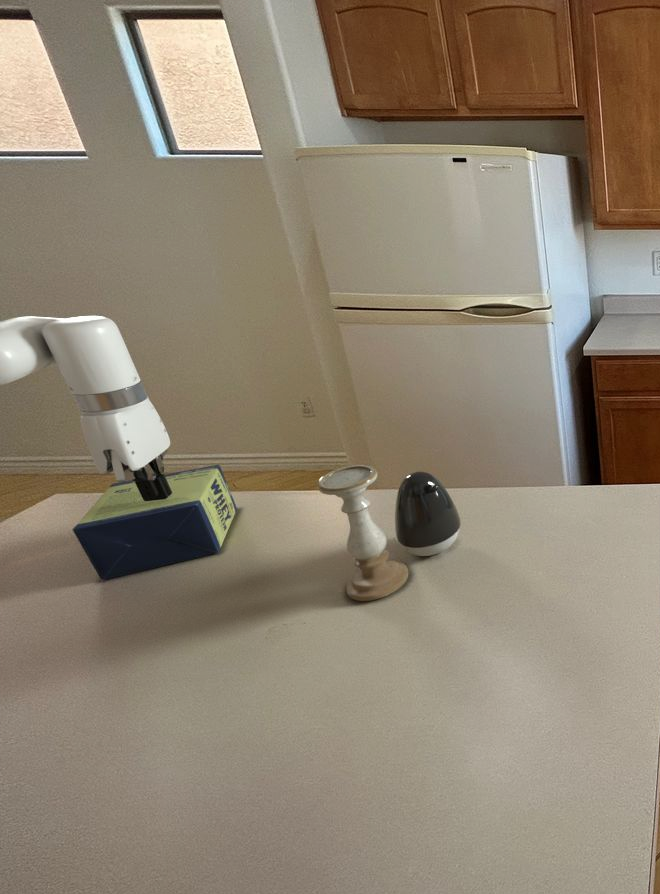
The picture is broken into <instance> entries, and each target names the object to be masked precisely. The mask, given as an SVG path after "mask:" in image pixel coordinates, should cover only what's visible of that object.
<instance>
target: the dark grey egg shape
mask: <svg viewBox="0 0 660 894" xmlns="http://www.w3.org/2000/svg"><path fill="white" fill-rule="evenodd" d="M394 528H395V529H394V530H395V536H396V540H397V542H398V543H399V544H400V545H401V546H402V547H403V548H404V549H405V550H406V551H407V552H409V553H410V554H412V555H414V556H419V557H428V556H429V557H430V556H434V555H437V554H440V553H442V552H444V551H446V550H447V549H449V548H450V547H451V546H452V545H453V544H454V543H455V541H456V539H457V538H458V535H459V532H460V529H461V517H460V514H459V512H458V509H457V506H456V504H455V502H454V501H453V499H452V497H451V496H450V494H449V492H448V491H447V489H446V488H445V486H444V485H443V484H442V482H441V481H440V480H439V479H438V478H437V477H435V476H434V475H433V474H432V473H430V472H428V471H425V470H424V471H422V470H419V471H413V472H411V473H409V474H408V475H406V476H405V477H404V478H403V479H402V481H401V483H400V485H399V488H398V489H397V494H396V499H395V507H394Z"/></svg>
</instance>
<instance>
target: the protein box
mask: <svg viewBox="0 0 660 894" xmlns="http://www.w3.org/2000/svg"><path fill="white" fill-rule="evenodd" d="M163 474H164V475H165V477H166V480H167V482H168V484H169V486H170V488H171V491H172V494H171V495H170V496H168V498H166V499H163V500H154V501H144V500H143V498H142V496H141V494H140V492H139V490H138V488H137V486H136V484H135V482H131V481H126V482H115V483H111V484H110V486H109V487H107V489H106V490H105V491H104V492H103V494H101V496H100V497H99V498H98V499H97V501H96V502H95V503H94V504H93V505H92V506H91V508H89V510H88V511H87V512H86V513H85V514H84V516H82V518H81V519H80V520H79V521H78V523H77V524H76V525H75V526H73V528H72V532H73V533H74V535H75V537H76V538H77V541H78V543H79V544H80V546H81V547H82V550H83V551H84V553H85V554H86V556H87V558H88V560H89V562H90V564H91V565H92V567H93V569H94V570H95V572H96V574H97V576H98V578H99V579H100V580H101V581H105V580H110V579H114V578H118V577H123V576H125V575H126V576H127V575H130V574H131V575H132V574H134V573H138V572H143V571H147V570H152V569H156V568H160V567H164V566H168V565H174V564H177V563H181V562H186V561H189V560H193V559H197V558H201V557H207V556H211V555H216V554H219V553H220V550H221V548H222V545H223V543H224V541H225V538H226V536H227V534H228V531H229V529H230V526H231V524H232V522H233V519H234V517H235V515H236V512H237V510H238V507H237V504H236V502H235V500H234V497H233V495H232V492H231V490H230V488H229V485H228V483H227V480H226V478H225V477H226V476H224V472H223V470H222V468H221V465H220V464H215V465H209V466H203V467H199V468H192V469H189V470H188V469H187V470H182V471H176V472H171V473H166V474H165V473H163ZM230 493H231V494H230Z"/></svg>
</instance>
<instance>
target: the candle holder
mask: <svg viewBox="0 0 660 894" xmlns="http://www.w3.org/2000/svg"><path fill="white" fill-rule="evenodd" d="M377 479H378V471H377V470H376V468H374V467H373V466H371V465H367V464H353V465H347V466H344V467H339V468H336V469H334V470H331V471H329V472H327V473H326V474H324V475H323V476H321V477H320V478H319V480H318V482H317V490H318V491H319V492H320V493H321V494H323V495H329V496H336V497H338V498H340V499H341V500H342V501H343V503H342V505H341V507H340V510H341V512H342V513H344V514H346V516H347V519H348V523H349V532H348V537H347V540H346V550H347V553H348V554H349V556H350V557H352V558H354V561H353V564H354V566H355V567H356V568H357V569H358V570H357V571H355V572H354V574H353V575H352V576H351V577H350V578H349V580H348V581H347V582H346V587H345V588H346V589H345V590H346V593H347V595H348V596H349V598H351V599H352V600H355V601H359V602H370V601H375V600H379V599H382V598H385V597H388V596H389V595H391V594H393V593H395V592H396V591H398V590H399V589H400V588H402V587H403V586H404V585H405V584H406V582H407V580H408V578H409V569H408V567H407V565H406V564H404V563H403V562H401V561H398V560H397V561H396V560H392V559H388V558H389V555H390V554H389V551H388V550H387V548H386V546H387V544H388V538H387V535H386V534H385V532H384V531H383V530H382V529H381V528H380V527H379V526H378V525H377V524H376V523H375V522H374V520H373V519H372V517H371V515H370V511H369V507H370V506H371V500H370V499H368V498H367V497H366V496H365V494H364V492H365V491H366V490H367V488H368V487H369V486H371V484H373V483H374V482H375V481H376V480H377Z"/></svg>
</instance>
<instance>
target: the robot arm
mask: <svg viewBox="0 0 660 894" xmlns="http://www.w3.org/2000/svg"><path fill="white" fill-rule="evenodd" d="M55 365H57V368H58V369H59V372H60V374H61V375H62V378H63V379H64V382H65V383H66V385H67V387H68V390H69V392H70V393H71V396H72V398H73V400H74V402H75V404H76V406H77V408H78V410H79V412H80V414H81V415H80V416H79V420H80V425H81V430H82V434H83V437H84V440H85V443H86V446H87V449H88V451H89V453H90V455H91V458H92V460H93V463H94V466H95V467H96V469H97V471H98V472H99V474H101V475H106V474H107V475H108V474H110V473H112V472H113V474H114V478H115V482H116V483H119V482H126V481H131V482H135V484H136V486H137V488H138V490H139V492H140V494H141V496H142V498H143V500H144V501H154V500H163V499H166V498H168V496H170V495H171V494H172V491H171V488H170V486H169V484H168V482H167V480H166V477H165V475H164V474H165V471H166V470H165V465H164V463H163V460H164V457H165V456H166V454H167V453H168V448H169V447H170V445H171V439H170V436H169V434H168V431H167V428H166V427H165V424H164V422H163V421H162V418H161V417H160V415H159V413H158V411H157V410H156V408H155V406H154V404H153V403H152V402H151V400H150V398H149V395H148V394H147V391H146V389H145V386H144V384H143V381H142V379H141V378H140V374H139V373H138V371H137V368H136V366H135V364H134V361H133V359H132V357H131V354H130V352H129V350H128V347H127V345H126V343H125V340H124V338H123V336H122V334H121V331H120V329H119V327H118V325H117V323H115V321H113V320H112V319H111V318H110V317H109V318H108V317H107V316H99V315H85V316H83V315H82V316H75V317H66V318H58V317H43V316H19V317H18V316H17V317H11V318H8V319H5V320H1V321H0V386H2V385H3V386H4V385H7V384H10V383H12V382H15V381H17V380H20V379H22V378H24V377H26V376H29V375H32V374H34V373H35V372H38V371H42V370H45V369H47V368H49V367H52V366H55Z"/></svg>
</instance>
